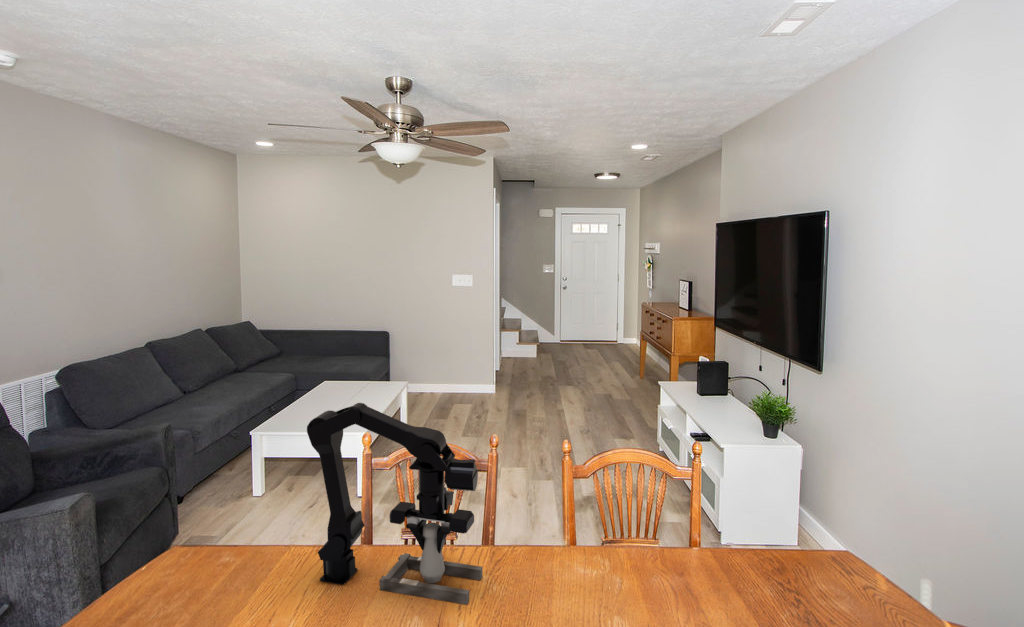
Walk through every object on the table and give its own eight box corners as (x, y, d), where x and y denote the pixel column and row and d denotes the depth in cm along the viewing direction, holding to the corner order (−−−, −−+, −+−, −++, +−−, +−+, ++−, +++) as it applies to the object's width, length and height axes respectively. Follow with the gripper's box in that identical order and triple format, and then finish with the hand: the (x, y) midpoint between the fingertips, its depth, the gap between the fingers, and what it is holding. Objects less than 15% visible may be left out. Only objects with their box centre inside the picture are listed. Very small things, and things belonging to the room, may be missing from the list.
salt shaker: (440, 587, 129) (439, 532, 128) (416, 584, 130) (415, 530, 129) (448, 572, 135) (447, 520, 133) (425, 570, 136) (424, 518, 134)
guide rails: (379, 590, 130) (379, 577, 130) (401, 564, 141) (401, 552, 140) (466, 604, 125) (466, 592, 124) (482, 576, 135) (482, 564, 135)
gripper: (481, 478, 135) (481, 540, 137) (409, 469, 140) (409, 529, 142) (465, 498, 124) (465, 565, 126) (387, 487, 129) (389, 552, 131)
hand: (432, 551), depth 132 cm, fingers closed on salt shaker, 3 cm apart
